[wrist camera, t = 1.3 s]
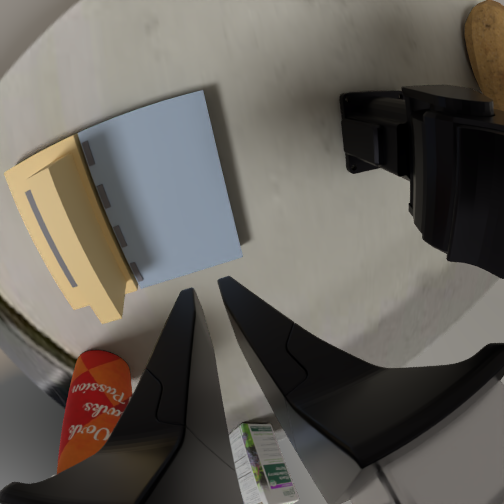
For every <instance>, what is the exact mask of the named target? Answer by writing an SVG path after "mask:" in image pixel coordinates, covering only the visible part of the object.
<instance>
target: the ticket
mask: <svg viewBox="0 0 504 504" xmlns="http://www.w3.org/2000/svg"><path fill="white" fill-rule="evenodd" d="M78 137H79V140H80V143H81V146H82V149H83V152H84V155H85V158H86V161H87V164H88V167H89V170H90V173H91V175H92V178H93V181H94V184H95V186H96V189H97V192H98V194H99V197H100V199H101V202H102V204H103V207H104V209H105V212H106V214H107V217H108V219H109V221H110V224H111V226H112V228H113V231H114V233H115V235H116V238H117V240H118V242H119V244H120V246H121V249H122V251H123V253H124V255H125V257H126V259H127V261H128V264H129V266H130V268H131V270H132V272H133V274H134V276H135V278H136V280H137V282H138V284H139V286H140V288H141V289H142V288H145V287H148V286H152V285H155V284H158V283H161V282H164V281H168V280H171V279H174V278H177V277H180V276H184V275H187V274H190V273H193V272H196V271H200V270H203V269H206V268H209V267H212V266H216V265H219V264H222V263H225V262H228V261H232V260H235V259H238V258H241V257H243V255H242V251H241V247H240V243H239V239H238V235H237V231H236V227H235V222H234V218H233V214H232V210H231V206H230V202H229V198H228V194H227V190H226V185H225V181H224V177H223V173H222V169H221V164H220V160H219V156H218V152H217V148H216V143H215V139H214V135H213V131H212V126H211V122H210V118H209V114H208V109H207V105H206V101H205V96H204V92H203V90H201V91H197V92H193V93H189V94H185V95H182V96H178V97H175V98H171V99H168V100H164V101H161V102H158V103H155V104H152V105H148V106H145V107H142V108H139V109H137V110H134V111H131V112H128V113H125V114H123V115H120V116H117V117H115V118H112V119H110V120H107V121H105V122H102V123H100V124H97V125H95V126H92V127H90V128H88V129H86V130H83V131H81V132H79V133H78Z"/></svg>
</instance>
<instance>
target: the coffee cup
mask: <svg viewBox="0 0 504 504" xmlns="http://www.w3.org/2000/svg"><path fill="white" fill-rule="evenodd" d="M131 397H132V386H131V376H130V369H129V366H128V365H127V363H126V362H125V361H124V360H123V359H122V358H120V357H119V356H117V355H115V354H113V353H110V352H107V351H102V350H91V351H87V352H84V353H82V354H81V355H80V356H79V357H78V359H77V362H76V365H75V369H74V372H73V376H72V381H71V385H70V389H69V394H68V399H67V404H66V409H65V415H64V420H63V427H62V434H61V440H60V449H59V457H58V467H57V474H58V473H60V472H62V471H64V470H66V469H68V468H70V467H72V466H74V465H76V464H78V463H79V462H81V461H83V460H85V459H87V458H89V457H90V456H92V455H94V454H95V453H97V452H98V451H99V450H100V449H101V448H102V447H103V446H104V444H105V443H106V441H107V440H108V438H109V437H110V435H111V433H112V431H113V429H114V428H115V426H116V424H117V422H118V420H119V419H120V417H121V415H122V413H123V412H124V410H125V408H126V406H127V404H128V402H129V401H130V399H131ZM53 476H54V475H53ZM51 477H52V476H51Z"/></svg>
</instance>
